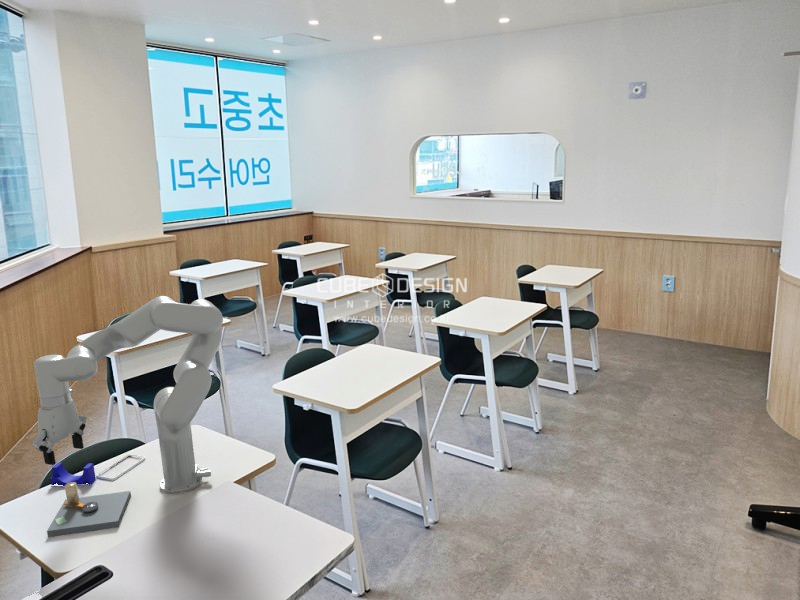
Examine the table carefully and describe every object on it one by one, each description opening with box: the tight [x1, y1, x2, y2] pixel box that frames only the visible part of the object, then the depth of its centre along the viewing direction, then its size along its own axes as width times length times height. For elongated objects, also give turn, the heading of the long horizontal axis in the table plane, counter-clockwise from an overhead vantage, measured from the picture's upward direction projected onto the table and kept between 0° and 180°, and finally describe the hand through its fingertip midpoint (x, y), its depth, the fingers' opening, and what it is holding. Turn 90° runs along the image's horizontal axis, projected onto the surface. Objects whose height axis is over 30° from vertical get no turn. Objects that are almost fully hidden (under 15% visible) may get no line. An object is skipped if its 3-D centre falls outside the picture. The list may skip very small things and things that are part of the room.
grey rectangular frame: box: [95, 453, 146, 482], centre depth 199 cm, size 7×1×15 cm
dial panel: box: [46, 490, 132, 538], centre depth 172 cm, size 18×16×2 cm
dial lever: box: [63, 482, 98, 513], centre depth 172 cm, size 11×4×7 cm, turn 72°
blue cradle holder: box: [49, 462, 97, 486], centre depth 190 cm, size 12×4×6 cm, turn 85°
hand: (64, 455), depth 170 cm, fingers open, 9 cm apart
